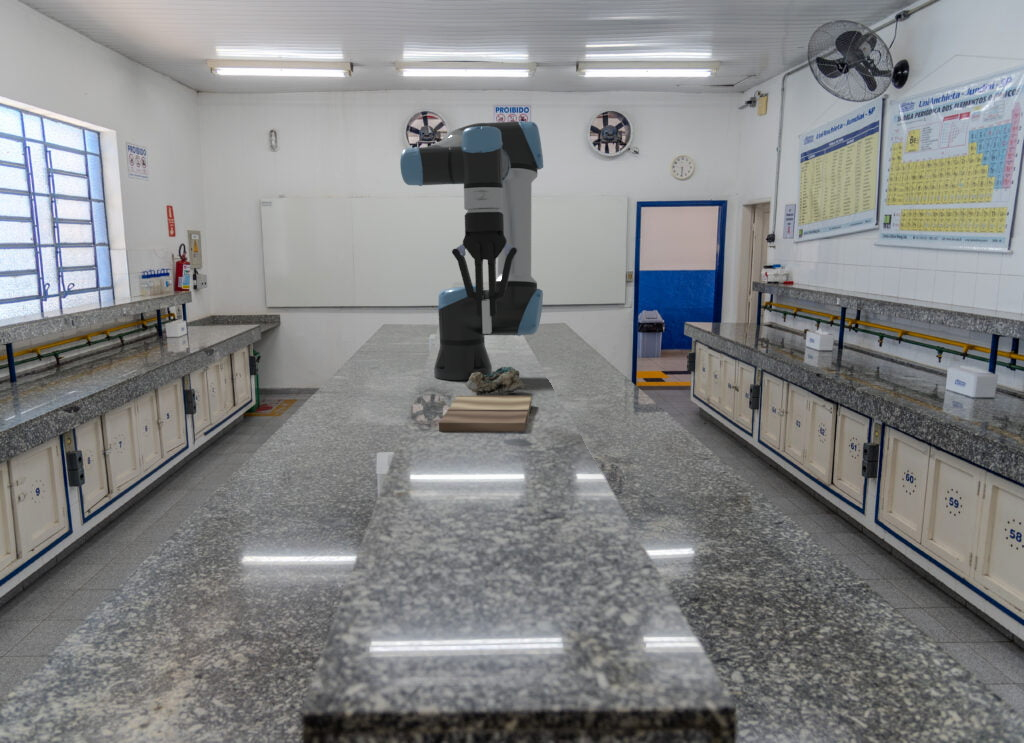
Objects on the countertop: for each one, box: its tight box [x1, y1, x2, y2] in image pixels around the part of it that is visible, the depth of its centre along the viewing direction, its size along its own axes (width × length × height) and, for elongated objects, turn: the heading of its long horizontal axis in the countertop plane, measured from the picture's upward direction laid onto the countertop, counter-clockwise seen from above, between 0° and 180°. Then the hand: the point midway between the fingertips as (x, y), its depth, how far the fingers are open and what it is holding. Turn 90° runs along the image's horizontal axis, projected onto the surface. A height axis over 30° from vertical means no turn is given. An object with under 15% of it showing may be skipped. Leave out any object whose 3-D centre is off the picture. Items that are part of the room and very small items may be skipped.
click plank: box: [448, 395, 533, 418], centre depth 145 cm, size 10×16×2 cm, turn 85°
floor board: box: [438, 409, 529, 432], centre depth 134 cm, size 10×16×2 cm, turn 85°
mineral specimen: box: [465, 366, 525, 396], centre depth 160 cm, size 12×9×8 cm
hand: (487, 332), depth 140 cm, fingers closed
